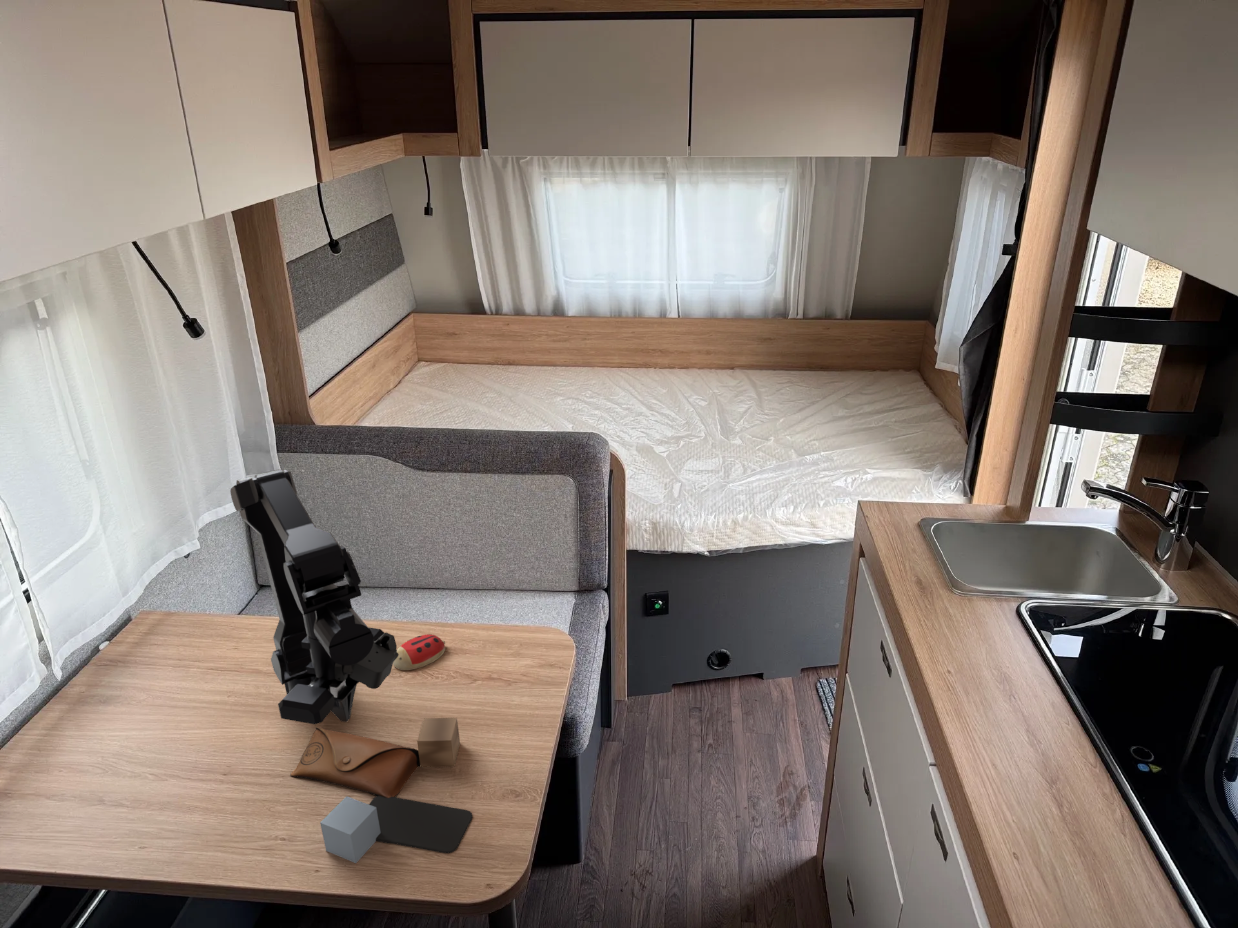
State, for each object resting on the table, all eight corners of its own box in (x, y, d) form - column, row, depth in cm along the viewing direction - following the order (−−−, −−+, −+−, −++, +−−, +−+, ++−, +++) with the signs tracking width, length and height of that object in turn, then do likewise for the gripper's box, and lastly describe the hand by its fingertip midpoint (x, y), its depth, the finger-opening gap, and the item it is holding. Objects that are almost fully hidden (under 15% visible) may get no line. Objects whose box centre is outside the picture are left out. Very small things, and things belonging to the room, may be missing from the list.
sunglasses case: (284, 776, 124) (292, 730, 125) (313, 767, 131) (321, 723, 132) (393, 801, 119) (401, 752, 120) (418, 790, 126) (425, 744, 127)
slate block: (326, 851, 112) (320, 822, 110) (352, 823, 116) (346, 795, 114) (355, 863, 110) (350, 834, 108) (381, 835, 114) (376, 807, 112)
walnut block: (420, 767, 126) (416, 740, 124) (427, 744, 130) (424, 718, 128) (454, 766, 126) (451, 740, 124) (460, 743, 130) (457, 717, 128)
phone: (453, 853, 111) (349, 833, 114) (454, 858, 111) (350, 838, 114) (475, 810, 117) (376, 793, 120) (475, 815, 118) (376, 797, 121)
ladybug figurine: (386, 661, 150) (383, 645, 149) (434, 639, 156) (432, 622, 155) (405, 678, 146) (402, 661, 144) (454, 654, 152) (452, 638, 150)
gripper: (343, 678, 105) (361, 775, 111) (414, 599, 122) (426, 688, 128) (266, 665, 108) (287, 761, 114) (345, 590, 125) (360, 677, 131)
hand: (345, 720), depth 122 cm, fingers closed
